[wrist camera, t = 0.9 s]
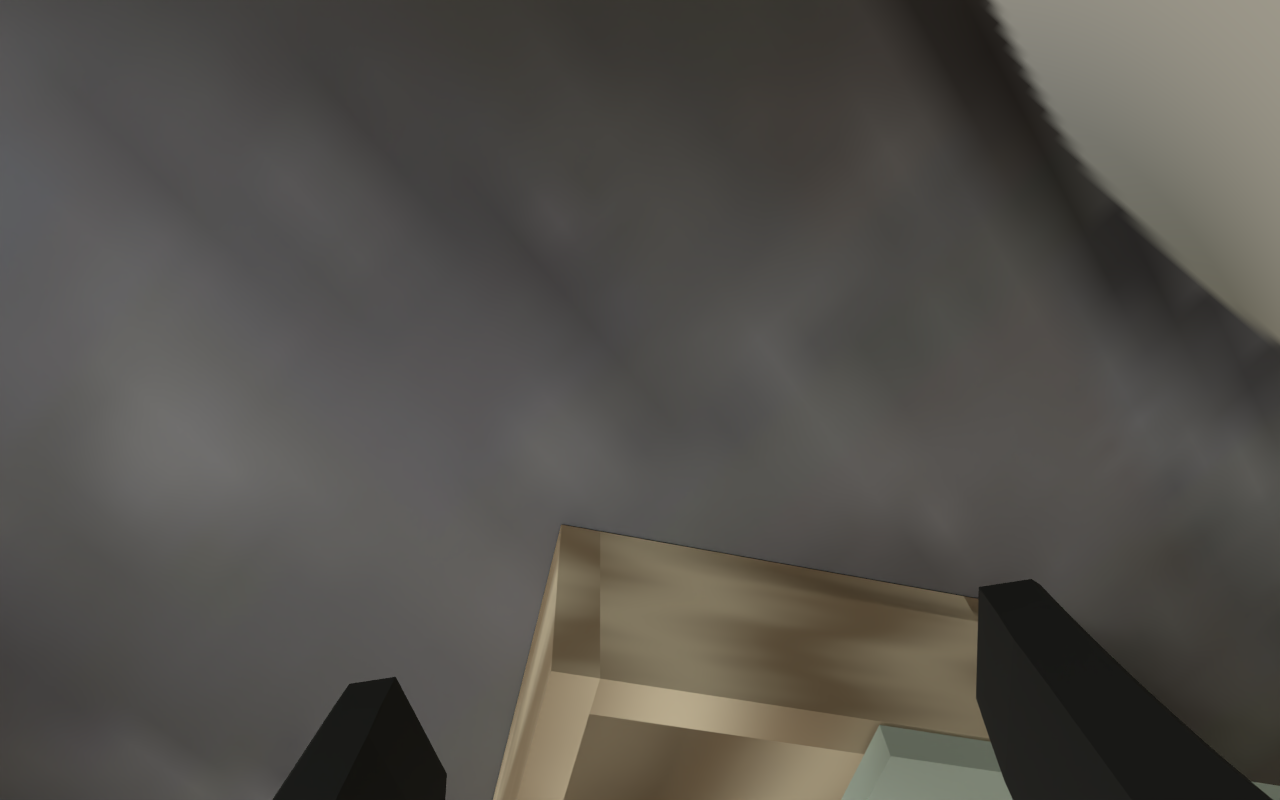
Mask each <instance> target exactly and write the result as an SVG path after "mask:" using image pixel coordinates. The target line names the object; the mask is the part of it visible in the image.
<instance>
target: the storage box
mask: <svg viewBox="0 0 1280 800" xmlns="http://www.w3.org/2000/svg"><path fill="white" fill-rule="evenodd" d="M978 601H979V599H976V598H971V597H965V596H959V595H954V594H948V593H943V592H937V591H931V590H926V589H920V588H914V587H909V586H903V585H898V584H892V583H886V582H881V581H875V580H870V579H864V578H858V577H853V576H847V575H841V574H836V573H830V572H825V571H819V570H813V569H808V568H802V567H797V566H791V565H785V564H780V563H774V562H768V561H763V560H757V559H752V558H746V557H740V556H735V555H729V554H724V553H718V552H712V551H707V550H701V549H695V548H690V547H684V546H679V545H673V544H667V543H662V542H656V541H651V540H645V539H639V538H634V537H628V536H623V535H617V534H611V533H606V532H600V531H594V530H589V529H583V528H578V527H572V526H566V525H561V528H560V532H559V536H558V540H557V544H556V548H555V552H554V556H553V560H552V564H551V568H550V572H549V576H548V580H547V584H546V588H545V592H544V596H543V600H542V604H541V608H540V612H539V616H538V620H537V624H536V628H535V632H534V636H533V640H532V644H531V648H530V652H529V656H528V660H527V664H526V668H525V672H524V676H523V680H522V684H521V688H520V692H519V697H518V701H517V705H516V709H515V713H514V717H513V721H512V725H511V729H510V733H509V737H508V741H507V745H506V749H505V753H504V757H503V761H502V765H501V769H500V773H499V777H498V781H497V785H496V789H495V793H494V797H493V800H841V799H842V797H843V795H844V793H845V791H846V789H847V787H848V785H849V783H850V781H851V779H852V778H853V776H854V774H855V772H856V770H857V768H858V766H859V764H860V762H861V760H862V758H863V756H864V754H865V752H866V750H867V748H868V746H869V744H870V742H871V740H872V738H873V736H874V734H875V732H876V730H877V728H878V727H879V725H884V726H890V727H897V728H903V729H910V730H917V731H923V732H930V733H936V734H943V735H949V736H956V737H962V738H969V739H976V740H982V741H989V742H990V739H989V736H988V733H987V730H986V727H985V724H984V721H983V718H982V715H981V712H980V709H979V706H978V703H977V700H976V675H977V638H978Z"/></svg>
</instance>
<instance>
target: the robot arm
mask: <svg viewBox="0 0 1280 800" xmlns="http://www.w3.org/2000/svg"><path fill="white" fill-rule="evenodd" d="M976 700H977V703H978V706H979V709H980V712H981V715H982V718H983V721H984V724H985V727H986V730H987V733H988V736H989V739H990V742H991V744H992V747H993V750H994V753H995V756H996V759H997V761H998V764H999V767H1000V770H1001V773H1002V776H1003V778H1004V781H1005V784H1006V786H1007V788H1008V790H1009V792H1010V795H1011V797H1012V799H1013V800H1273V799H1272V798H1270V797H1269V796H1268V795H1267V794H1266V793H1264V792H1263V791H1262V790H1261V789H1259V788H1258V787H1257V786H1256V785H1255V784H1253V783H1252V782H1251V781H1250V780H1249V779H1247V778H1246V777H1245V776H1244V775H1242V774H1241V773H1240V772H1239V771H1238V770H1236V769H1235V768H1234V767H1233V766H1232V765H1231V764H1229V763H1228V762H1227V761H1226V760H1225V759H1224V758H1222V757H1221V756H1220V755H1219V754H1218V753H1217V752H1215V751H1214V750H1213V749H1212V748H1211V747H1210V746H1209V745H1207V744H1206V743H1205V742H1204V741H1203V740H1202V739H1201V738H1199V737H1198V736H1197V735H1196V734H1195V733H1194V732H1193V731H1192V730H1191V729H1189V728H1188V727H1187V726H1186V725H1185V724H1184V723H1183V722H1182V721H1180V720H1179V719H1178V718H1177V717H1176V716H1175V715H1174V714H1173V713H1172V712H1170V711H1169V710H1168V709H1167V708H1166V707H1165V706H1164V705H1163V704H1162V703H1160V702H1159V701H1158V700H1157V699H1156V698H1155V697H1154V696H1153V695H1152V694H1150V693H1149V692H1148V691H1147V690H1146V689H1145V688H1144V687H1143V686H1142V685H1141V684H1140V683H1139V682H1138V681H1137V680H1135V679H1134V678H1133V677H1132V676H1131V675H1130V674H1129V673H1128V672H1127V671H1126V670H1125V669H1124V668H1123V667H1122V666H1121V665H1120V664H1119V663H1118V662H1117V661H1116V660H1115V659H1114V658H1112V657H1111V656H1110V655H1109V654H1108V653H1107V652H1106V651H1105V650H1104V649H1103V648H1102V647H1101V646H1100V645H1099V644H1098V643H1097V642H1096V641H1095V640H1094V639H1093V638H1092V637H1091V636H1090V635H1089V634H1088V633H1087V632H1086V631H1085V630H1084V629H1083V628H1082V627H1081V626H1080V625H1079V624H1078V623H1077V622H1076V621H1075V620H1074V619H1073V618H1072V617H1071V616H1070V615H1069V614H1068V613H1067V612H1066V611H1065V610H1064V609H1063V608H1062V607H1061V606H1060V605H1059V604H1058V603H1057V602H1056V601H1055V600H1054V599H1053V598H1052V597H1051V596H1050V595H1049V593H1048V592H1047V591H1046V590H1045V589H1044V588H1043V587H1042V586H1041V585H1040V584H1038V583H1037V582H1035V581H1034V580H1032V579H1029V580H1022V581H1016V582H1009V583H1003V584H996V585H990V586H983V587H979V601H978V638H977V675H976ZM446 778H447V773H446V772H445V770H444V768H443V766H442V764H441V762H440V760H439V758H438V756H437V754H436V753H435V751H434V749H433V747H432V745H431V743H430V741H429V739H428V737H427V735H426V734H425V732H424V730H423V728H422V726H421V724H420V722H419V720H418V718H417V717H416V715H415V713H414V711H413V709H412V707H411V705H410V703H409V701H408V699H407V698H406V696H405V694H404V692H403V690H402V688H401V686H400V684H399V682H398V680H397V679H396V677H392V678H385V679H379V680H372V681H366V682H359V683H353V684H349V685H348V687H347V688H346V690H345V691H344V692H343V694H342V695H341V697H340V698H339V700H338V701H337V703H336V704H335V706H334V707H333V709H332V710H331V712H330V713H329V715H328V716H327V718H326V719H325V721H324V722H323V724H322V725H321V727H320V728H319V730H318V731H317V733H316V735H315V736H314V738H313V739H312V741H311V742H310V744H309V745H308V747H307V748H306V750H305V751H304V753H303V754H302V756H301V757H300V759H299V760H298V762H297V764H296V765H295V767H294V768H293V770H292V771H291V773H290V774H289V776H288V777H287V779H286V780H285V782H284V783H283V785H282V786H281V788H280V789H279V791H278V792H277V794H276V795H275V797H274V798H273V800H445V794H446Z"/></svg>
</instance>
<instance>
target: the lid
mask: <svg viewBox="0 0 1280 800" xmlns="http://www.w3.org/2000/svg"><path fill="white" fill-rule="evenodd" d="M1252 783H1253V784H1255V785H1256V786H1257V787H1258V788H1259V789H1261V790H1262V791H1263V792H1264V793H1266V794H1267V795H1268V796H1269V797H1270V798H1272V799H1273V800H1280V786H1277V785H1271V784H1264V783H1258V782H1252ZM841 800H1013V799H1012V797H1011V795H1010V792H1009V790H1008V788H1007V786H1006V784H1005V781H1004V778H1003V776H1002V773H1001V770H1000V767H999V764H998V761H997V759H996V756H995V753H994V750H993V747H992V744H991V742H989V741H982V740H976V739H969V738H962V737H956V736H949V735H943V734H936V733H930V732H923V731H917V730H910V729H903V728H897V727H890V726H884V725H879V727H878V728H877V730H876V732H875V734H874V736H873V738H872V740H871V742H870V744H869V746H868V748H867V750H866V752H865V754H864V756H863V758H862V760H861V762H860V764H859V766H858V768H857V770H856V772H855V774H854V776H853V778H852V779H851V781H850V783H849V785H848V787H847V789H846V791H845V793H844V795H843V797H842V799H841Z"/></svg>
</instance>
